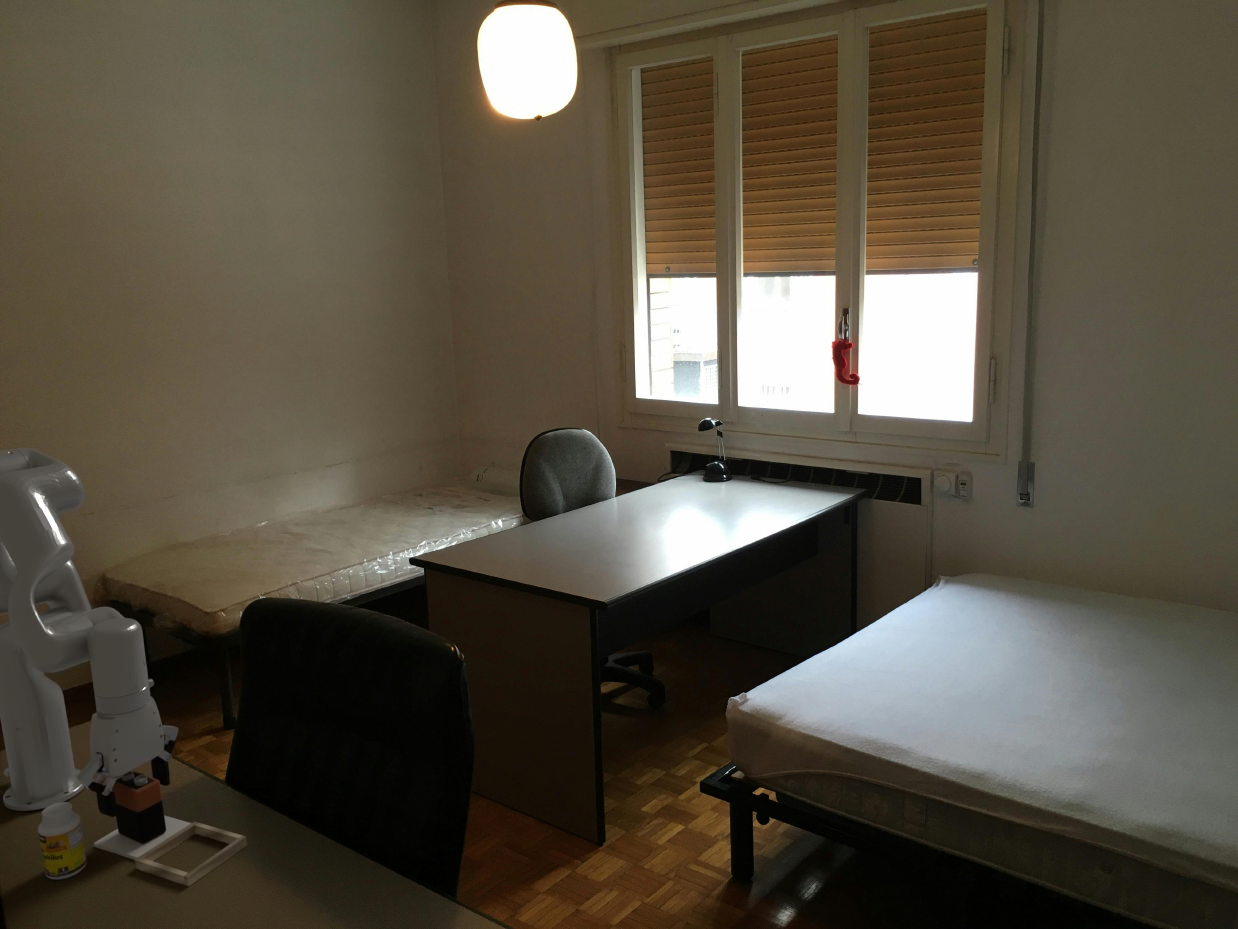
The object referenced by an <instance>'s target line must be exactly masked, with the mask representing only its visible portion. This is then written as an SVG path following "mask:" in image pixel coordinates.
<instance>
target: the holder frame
mask: <svg viewBox="0 0 1238 929" xmlns="http://www.w3.org/2000/svg"><path fill="white" fill-rule="evenodd" d="M198 834H199V836H201V837H204V838H208V837H209V839H212V840H214V841H219V842H221V843H222V842H223V843H226V844H228V845H227V846H225V847H224V848H223V849H221V850H219V851H218V852H216V853H215V854H214V855H212V856H211V857H209V858H208V859H206V860H205V861H204V862H201V863H200V864H199V865H197V866H196V867H195V868H193V869H192V870H191V871H189V872H187V871H183V870H181V869H178V868H174V867H172V866H169V865H166V864H162V863H160V862H156V860H158V859H159V858H160V857H162V856H164V855H165V854H167V853H169V852H170V851H171V850H173V849H175V848H177V847H178V846H179V845H181V844H182V843H184V842H185V841H187V840H188V839H190V838H191V837H193V836H195V835H198ZM183 841H184V842H183ZM180 843H181V844H180ZM247 846H248V839H247V836H245V835H242V834H239V833H236V832H233V831H228V830H224V829H221V828H219V827H214V826H212V825H208V824H206V823H205V824H204V823H201V822H197V821H193V822H191V824H190V825H189V826H187V827H186V828H184V829H183V830H181V831H179V832H178V833H176V834H175V835H173V836H172V837H170V838H168V839H167V840H165V841H164V842H162V843H161V844H159V845H158V846H156V847H154V848H153V849H151V850H150V851H148V852H147V853H145V854H143V855H142V856H140V857H139V858H137V859H136V860H134V864H135V869H136V870H138V869H139V871H141V872H144V873H147V874H150V873H151V874H150V875H154V876H157V877H160V878H162V879H166V880H168V881H171V882H175V883H177V884H180V885H184V886H187V887H191V886H192V885H193V884H195V883H196V882H197V881H199V880H200V879H202V878H203V877H204V876H206V875H207V874H209V873H210V872H211V871H213V870H215V869H216V868H217V867H218V866H219V867H220V866H221V864H224V862H226V861H227V860H228V859H230V858H231V857H233V856H234V855H235V854H238V852H240V851H241V850H243V849H244V848H246V847H247Z"/></svg>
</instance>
